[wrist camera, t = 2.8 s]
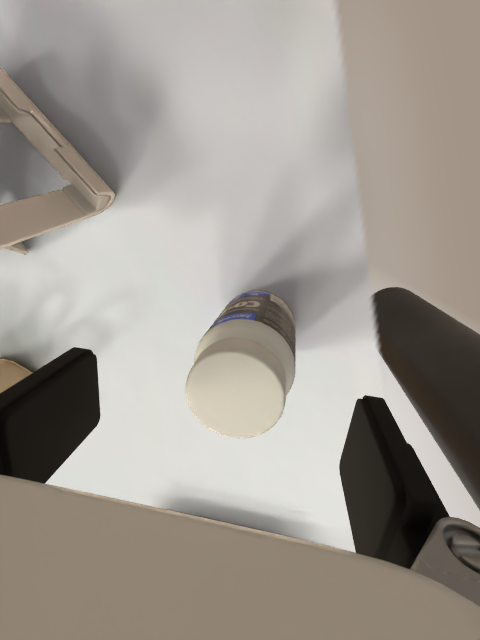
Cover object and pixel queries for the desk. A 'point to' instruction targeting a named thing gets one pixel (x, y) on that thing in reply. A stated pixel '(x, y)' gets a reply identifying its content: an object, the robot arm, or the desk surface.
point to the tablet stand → (84, 183)
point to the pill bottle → (244, 367)
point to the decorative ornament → (11, 373)
